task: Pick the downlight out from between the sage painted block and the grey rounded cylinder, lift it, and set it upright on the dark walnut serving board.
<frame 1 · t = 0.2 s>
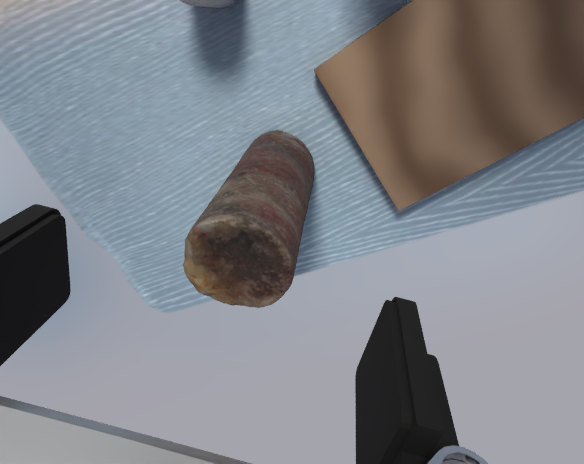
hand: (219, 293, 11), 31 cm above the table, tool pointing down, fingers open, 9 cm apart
brown textured cylinder: (282, 164, 42), on the table
walnut board: (479, 69, 35), on the table
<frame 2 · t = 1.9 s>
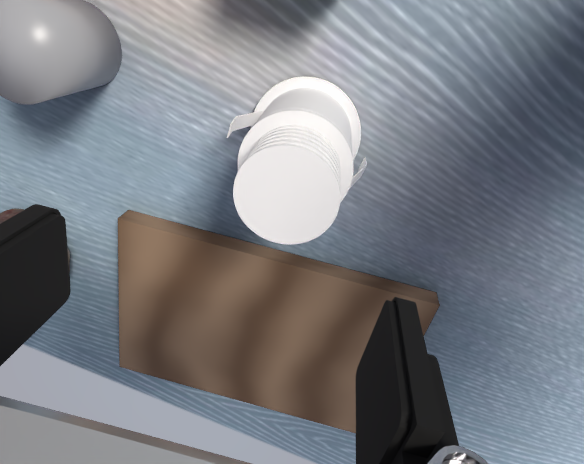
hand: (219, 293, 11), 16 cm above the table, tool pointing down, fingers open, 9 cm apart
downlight: (307, 134, 26), on the table
grey rounded cylinder: (83, 45, 25), on the table
walnut board: (262, 327, 34), on the table
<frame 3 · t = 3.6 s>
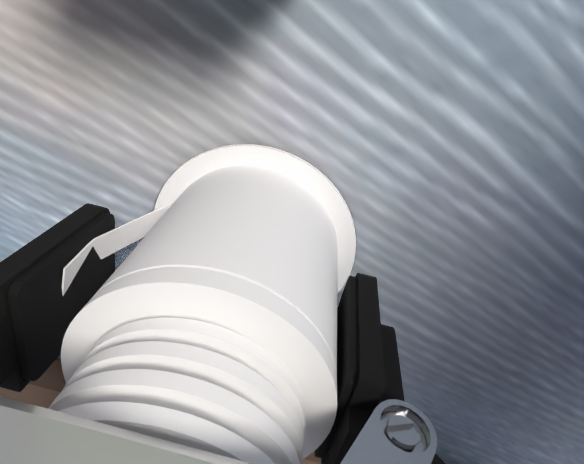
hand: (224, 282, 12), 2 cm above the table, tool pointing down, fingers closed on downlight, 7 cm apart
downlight: (259, 239, 14), on the table, touching gripper
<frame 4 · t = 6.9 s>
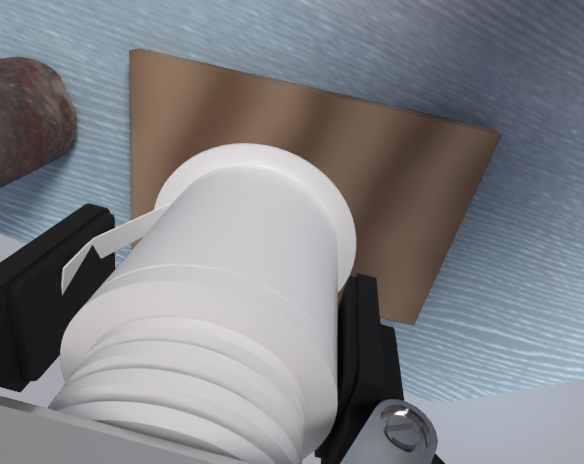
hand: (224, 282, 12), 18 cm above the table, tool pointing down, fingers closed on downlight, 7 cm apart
brown textured cylinder: (41, 110, 30), on the table
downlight: (259, 238, 14), point 16 cm above the table, touching gripper
walnut board: (291, 196, 30), on the table
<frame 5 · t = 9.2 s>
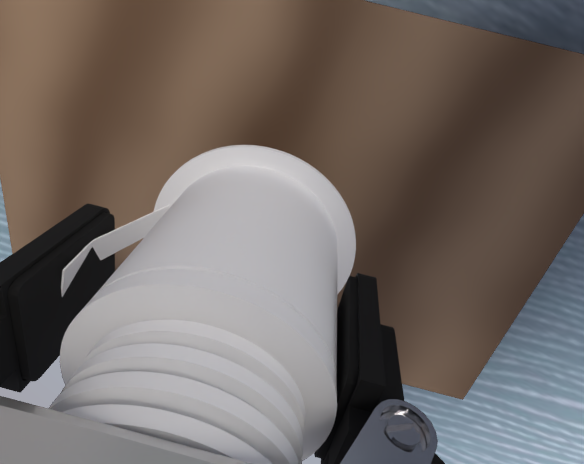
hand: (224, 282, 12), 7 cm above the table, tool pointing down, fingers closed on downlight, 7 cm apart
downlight: (258, 240, 14), point 5 cm above the table, touching gripper
walnut board: (270, 190, 18), on the table
when the fingers open (5 cm above the table, at t = 10.6 s): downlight drops 1 cm, resting on walnut board.
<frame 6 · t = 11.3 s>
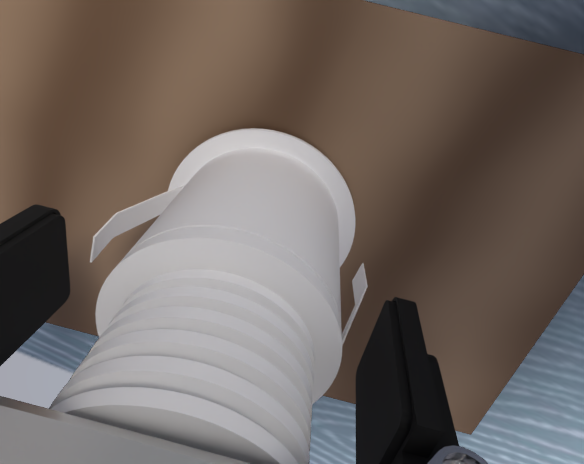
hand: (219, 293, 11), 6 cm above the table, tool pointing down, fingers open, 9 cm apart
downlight: (264, 219, 15), point 1 cm above the table, touching walnut board
walnut board: (260, 209, 16), on the table
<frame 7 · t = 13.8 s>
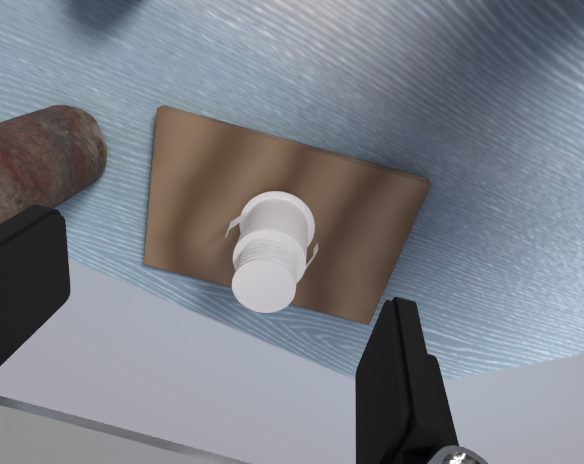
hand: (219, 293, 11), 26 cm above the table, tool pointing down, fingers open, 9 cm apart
brown textured cylinder: (76, 145, 38), on the table
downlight: (278, 225, 37), point 1 cm above the table, touching walnut board
walnut board: (276, 221, 39), on the table
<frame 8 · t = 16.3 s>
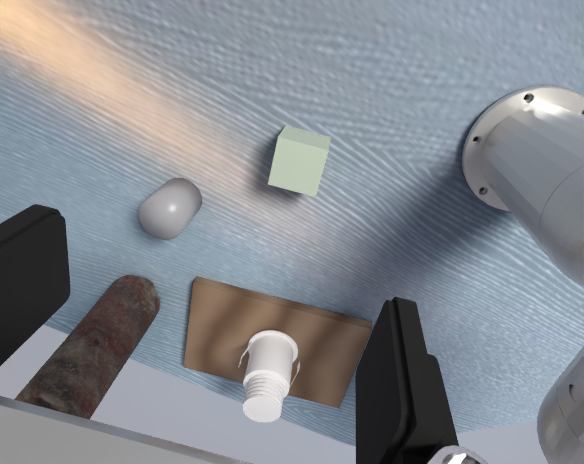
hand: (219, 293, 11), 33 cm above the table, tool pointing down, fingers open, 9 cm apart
sage block: (302, 153, 44), on the table
brown textured cylinder: (139, 295, 57), on the table
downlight: (274, 347, 56), point 1 cm above the table, touching walnut board
grey rounded cylinder: (181, 197, 48), on the table
walnut board: (272, 342, 57), on the table
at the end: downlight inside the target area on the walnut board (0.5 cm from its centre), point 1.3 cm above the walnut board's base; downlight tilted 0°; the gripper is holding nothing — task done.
